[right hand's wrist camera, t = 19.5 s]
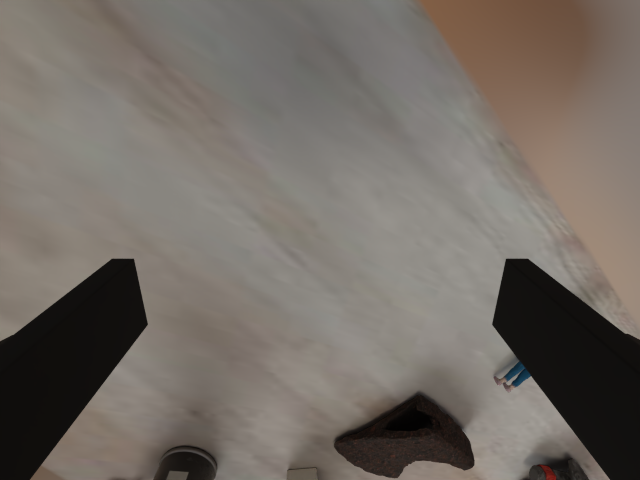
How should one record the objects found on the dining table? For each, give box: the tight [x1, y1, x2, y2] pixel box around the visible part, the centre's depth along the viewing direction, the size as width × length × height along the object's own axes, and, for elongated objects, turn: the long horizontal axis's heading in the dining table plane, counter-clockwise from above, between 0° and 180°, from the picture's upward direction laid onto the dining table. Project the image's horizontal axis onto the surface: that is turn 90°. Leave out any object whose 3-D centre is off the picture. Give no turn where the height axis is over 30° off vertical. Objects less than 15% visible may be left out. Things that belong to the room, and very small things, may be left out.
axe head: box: [334, 395, 474, 478], centre depth 56 cm, size 18×8×15 cm
